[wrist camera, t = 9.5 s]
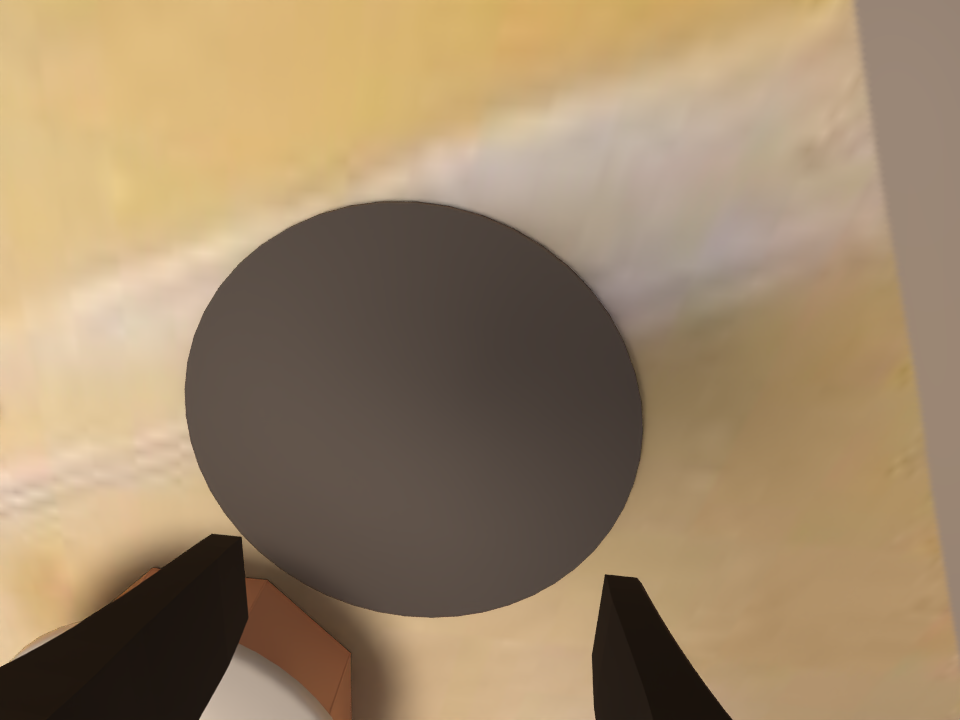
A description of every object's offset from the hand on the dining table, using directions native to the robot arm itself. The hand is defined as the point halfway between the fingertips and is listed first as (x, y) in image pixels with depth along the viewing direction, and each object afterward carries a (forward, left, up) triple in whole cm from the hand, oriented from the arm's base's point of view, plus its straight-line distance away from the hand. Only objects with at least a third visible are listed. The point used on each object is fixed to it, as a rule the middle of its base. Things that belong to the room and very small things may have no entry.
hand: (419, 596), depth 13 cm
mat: (+2, +2, -10) cm, 11 cm away
